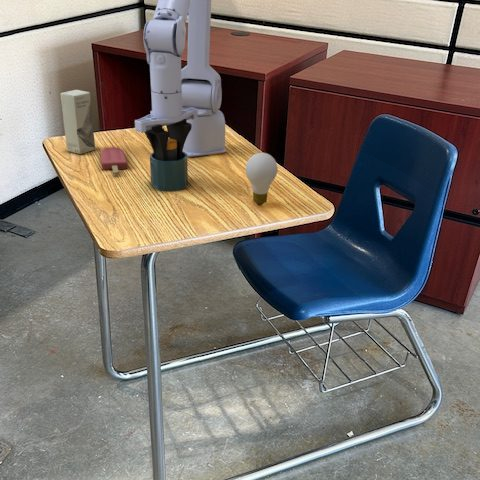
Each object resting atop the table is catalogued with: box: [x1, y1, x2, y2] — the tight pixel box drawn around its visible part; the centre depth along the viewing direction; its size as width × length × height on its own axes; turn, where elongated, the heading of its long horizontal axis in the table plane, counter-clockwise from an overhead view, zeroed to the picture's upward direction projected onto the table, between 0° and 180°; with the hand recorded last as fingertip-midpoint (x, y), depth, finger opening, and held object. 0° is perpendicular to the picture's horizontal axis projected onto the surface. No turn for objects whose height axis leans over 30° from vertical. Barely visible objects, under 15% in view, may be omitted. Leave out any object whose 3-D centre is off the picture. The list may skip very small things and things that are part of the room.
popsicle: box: [100, 146, 128, 175], centre depth 132 cm, size 5×2×15 cm
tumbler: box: [149, 151, 189, 192], centre depth 122 cm, size 7×7×6 cm
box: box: [60, 89, 96, 155], centre depth 136 cm, size 5×4×13 cm
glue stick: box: [167, 138, 177, 161], centre depth 120 cm, size 3×3×6 cm
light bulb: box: [245, 152, 278, 206], centre depth 113 cm, size 6×6×10 cm
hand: (168, 161), depth 121 cm, fingers closed on glue stick, 3 cm apart
